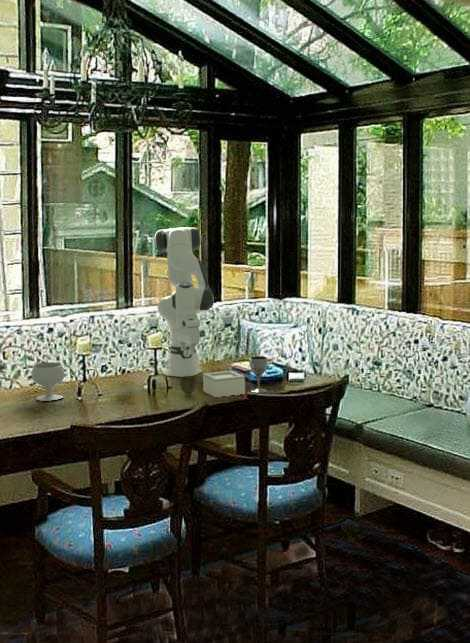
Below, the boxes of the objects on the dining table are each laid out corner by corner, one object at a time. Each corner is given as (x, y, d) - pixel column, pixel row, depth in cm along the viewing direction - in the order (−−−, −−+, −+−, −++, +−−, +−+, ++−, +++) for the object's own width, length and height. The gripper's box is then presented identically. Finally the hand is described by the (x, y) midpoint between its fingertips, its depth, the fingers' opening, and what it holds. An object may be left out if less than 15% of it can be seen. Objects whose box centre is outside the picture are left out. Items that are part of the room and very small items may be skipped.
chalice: (30, 397, 389) (28, 363, 387) (62, 394, 395) (60, 360, 392) (35, 404, 377) (34, 369, 374) (68, 400, 382) (67, 366, 380)
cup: (198, 393, 391) (197, 375, 389) (195, 397, 383) (195, 379, 382) (181, 393, 391) (180, 375, 390) (178, 397, 384) (178, 379, 383)
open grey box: (203, 391, 395) (203, 373, 394) (232, 387, 401) (232, 370, 400) (215, 397, 383) (215, 379, 382) (245, 394, 388) (244, 376, 387)
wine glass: (262, 388, 399) (262, 355, 397) (271, 391, 392) (270, 358, 390) (246, 390, 396) (246, 357, 394) (255, 393, 389) (254, 360, 387)
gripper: (171, 318, 391) (172, 349, 393) (187, 324, 372) (188, 356, 374) (184, 317, 393) (185, 348, 395) (201, 322, 374) (202, 355, 376)
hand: (187, 352), depth 384 cm, fingers open, 8 cm apart
